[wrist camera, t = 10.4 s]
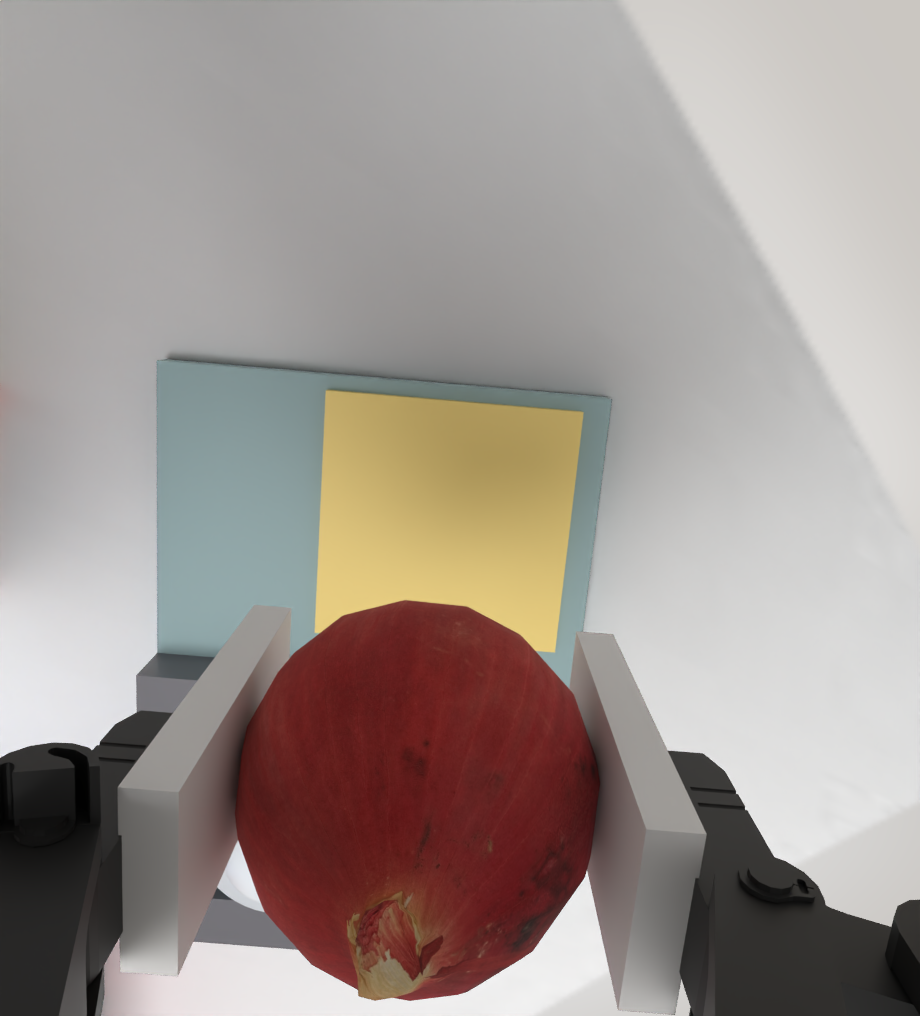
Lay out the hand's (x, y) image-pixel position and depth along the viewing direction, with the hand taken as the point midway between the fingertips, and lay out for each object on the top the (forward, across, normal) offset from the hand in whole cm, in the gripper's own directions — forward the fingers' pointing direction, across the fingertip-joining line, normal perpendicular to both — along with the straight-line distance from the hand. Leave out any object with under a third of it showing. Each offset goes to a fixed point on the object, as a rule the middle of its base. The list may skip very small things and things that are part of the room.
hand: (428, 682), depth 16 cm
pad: (+14, 0, 0) cm, 14 cm away
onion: (+1, 0, 0) cm, 1 cm away
